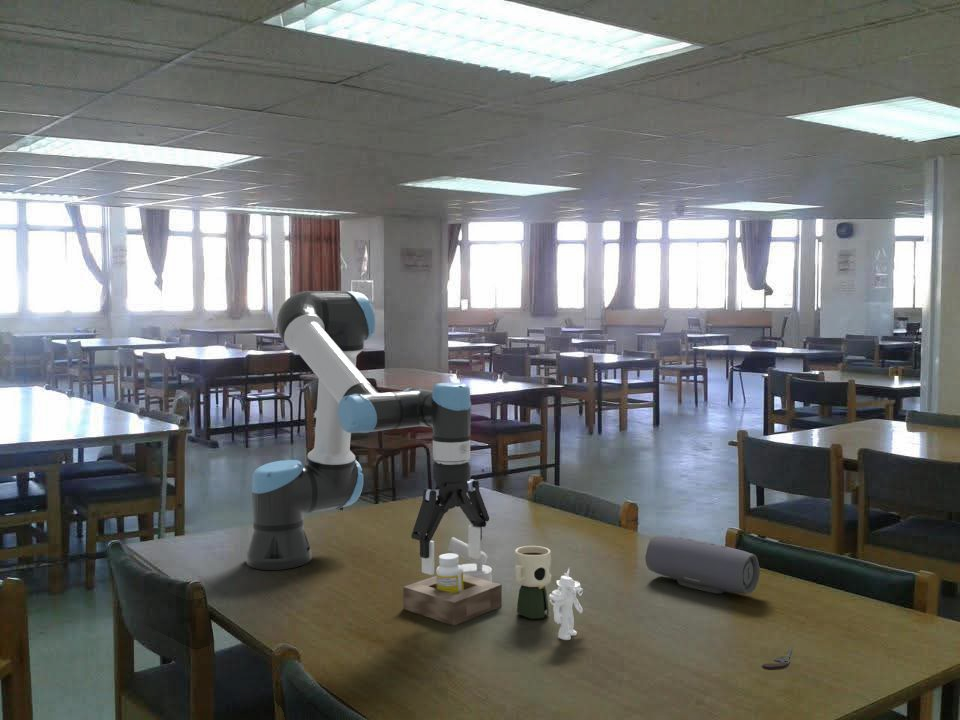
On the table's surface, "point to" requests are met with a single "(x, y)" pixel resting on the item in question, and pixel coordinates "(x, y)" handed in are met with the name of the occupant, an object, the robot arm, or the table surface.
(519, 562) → the character mug
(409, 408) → the robot arm
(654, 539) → the bluetooth speaker
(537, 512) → the table surface
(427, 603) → the well block
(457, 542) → the white tilted tube stand
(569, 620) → the hat wearing toy figure
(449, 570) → the supplement bottle
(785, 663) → the knife
